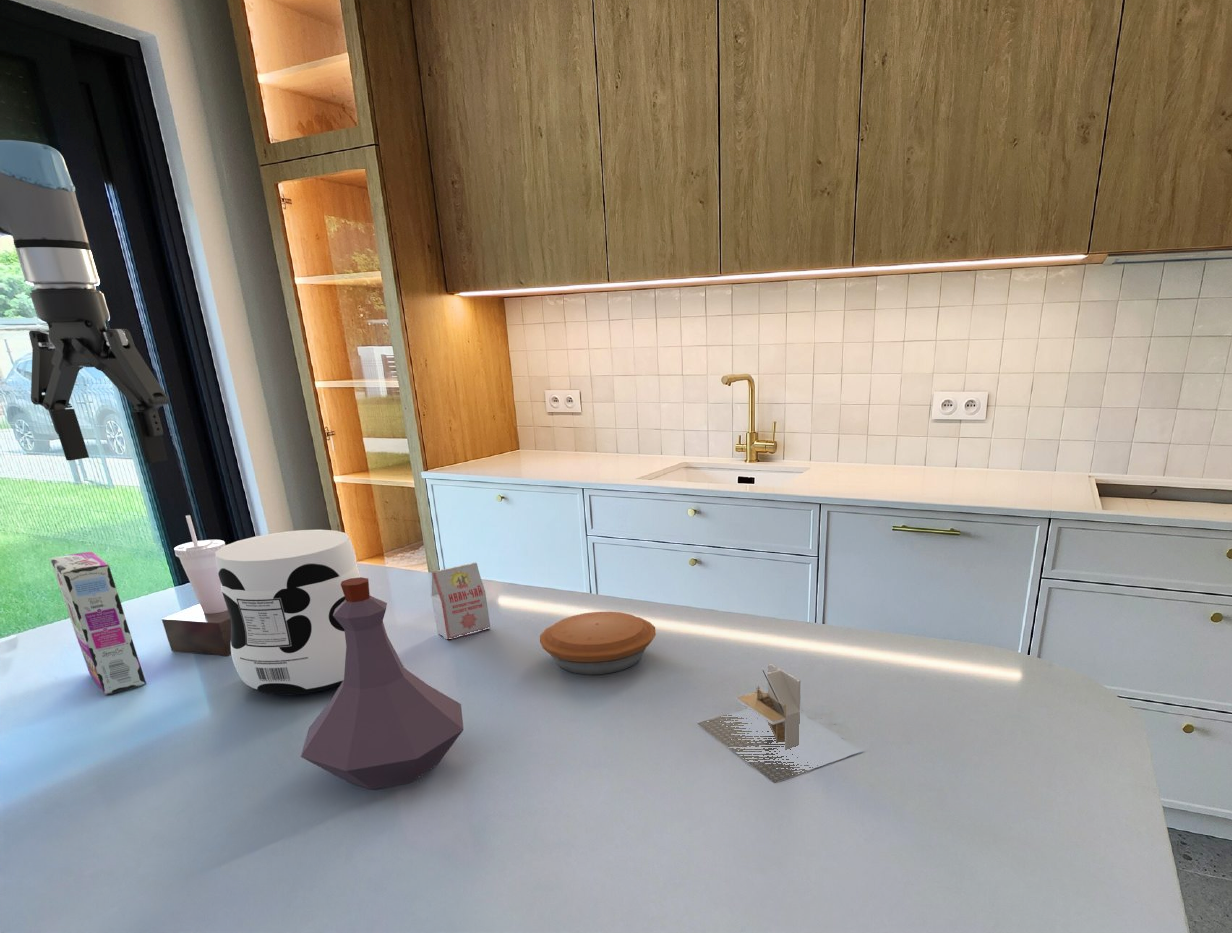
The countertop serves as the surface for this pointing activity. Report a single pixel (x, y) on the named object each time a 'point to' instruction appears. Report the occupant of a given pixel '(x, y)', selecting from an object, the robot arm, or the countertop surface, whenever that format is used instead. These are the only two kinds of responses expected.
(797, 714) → the architectural model
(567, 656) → the pie
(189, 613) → the walnut block
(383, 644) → the flask
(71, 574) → the candy bar box
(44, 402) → the robot arm
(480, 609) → the tea bag
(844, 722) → the countertop surface
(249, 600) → the milk container
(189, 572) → the smoothie
